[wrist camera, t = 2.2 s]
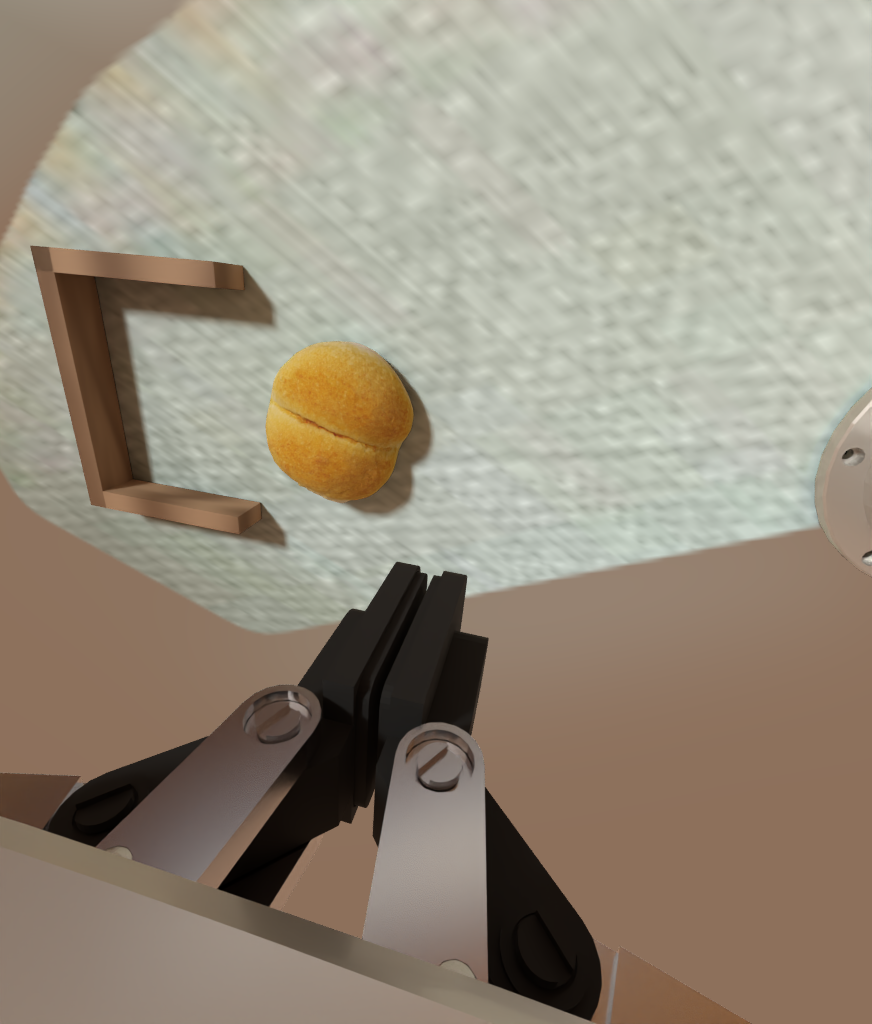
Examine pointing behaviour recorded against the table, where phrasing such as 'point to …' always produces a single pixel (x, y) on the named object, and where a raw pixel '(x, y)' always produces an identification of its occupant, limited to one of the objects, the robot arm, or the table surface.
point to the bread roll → (338, 420)
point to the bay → (94, 388)
